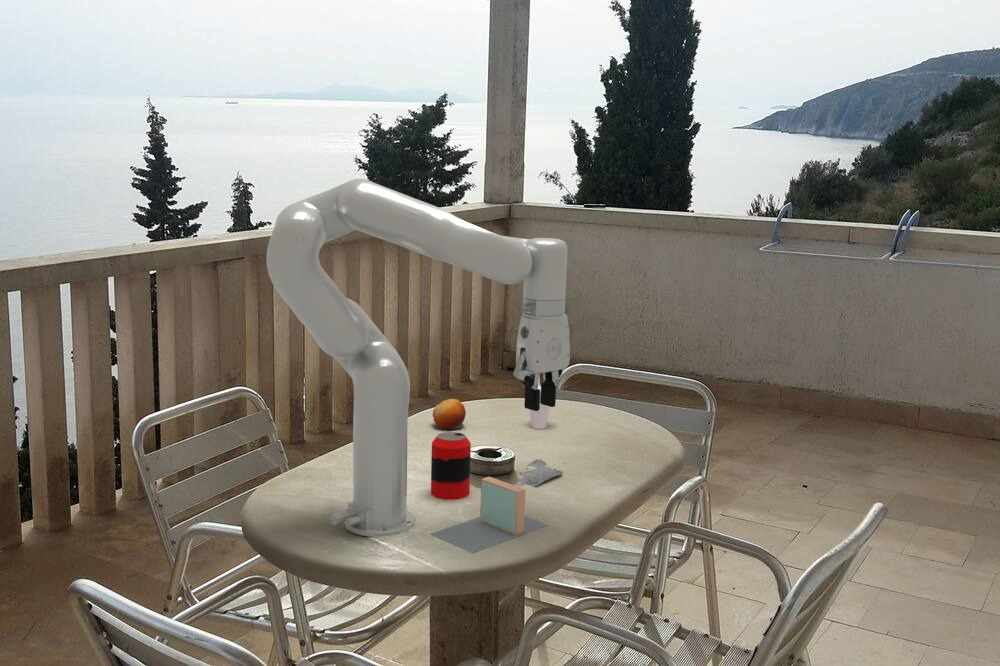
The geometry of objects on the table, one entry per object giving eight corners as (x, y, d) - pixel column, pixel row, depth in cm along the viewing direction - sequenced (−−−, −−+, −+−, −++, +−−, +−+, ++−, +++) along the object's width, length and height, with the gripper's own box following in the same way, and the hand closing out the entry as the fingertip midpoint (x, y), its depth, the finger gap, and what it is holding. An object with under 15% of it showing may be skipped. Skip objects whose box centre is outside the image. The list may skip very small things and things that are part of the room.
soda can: (477, 496, 197) (479, 437, 195) (448, 504, 192) (450, 444, 190) (451, 486, 203) (452, 428, 200) (422, 494, 197) (423, 435, 195)
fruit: (472, 426, 240) (455, 398, 238) (443, 442, 240) (426, 414, 239) (473, 417, 248) (457, 389, 246) (446, 432, 248) (429, 405, 247)
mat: (472, 555, 169) (473, 553, 169) (429, 536, 177) (429, 533, 176) (548, 527, 182) (548, 524, 182) (504, 510, 190) (504, 508, 190)
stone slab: (534, 457, 219) (573, 464, 214) (534, 465, 220) (573, 473, 214) (484, 480, 205) (524, 489, 199) (484, 489, 206) (524, 498, 200)
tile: (515, 535, 177) (517, 492, 175) (480, 521, 183) (481, 479, 182) (523, 532, 178) (525, 489, 177) (487, 518, 185) (489, 476, 183)
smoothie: (527, 422, 250) (529, 367, 247) (553, 424, 249) (555, 369, 246) (524, 429, 244) (526, 373, 241) (550, 431, 243) (553, 374, 240)
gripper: (527, 315, 171) (523, 419, 175) (589, 306, 183) (584, 404, 187) (496, 309, 177) (493, 410, 180) (558, 300, 188) (554, 396, 192)
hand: (539, 406), depth 183 cm, fingers open, 3 cm apart
